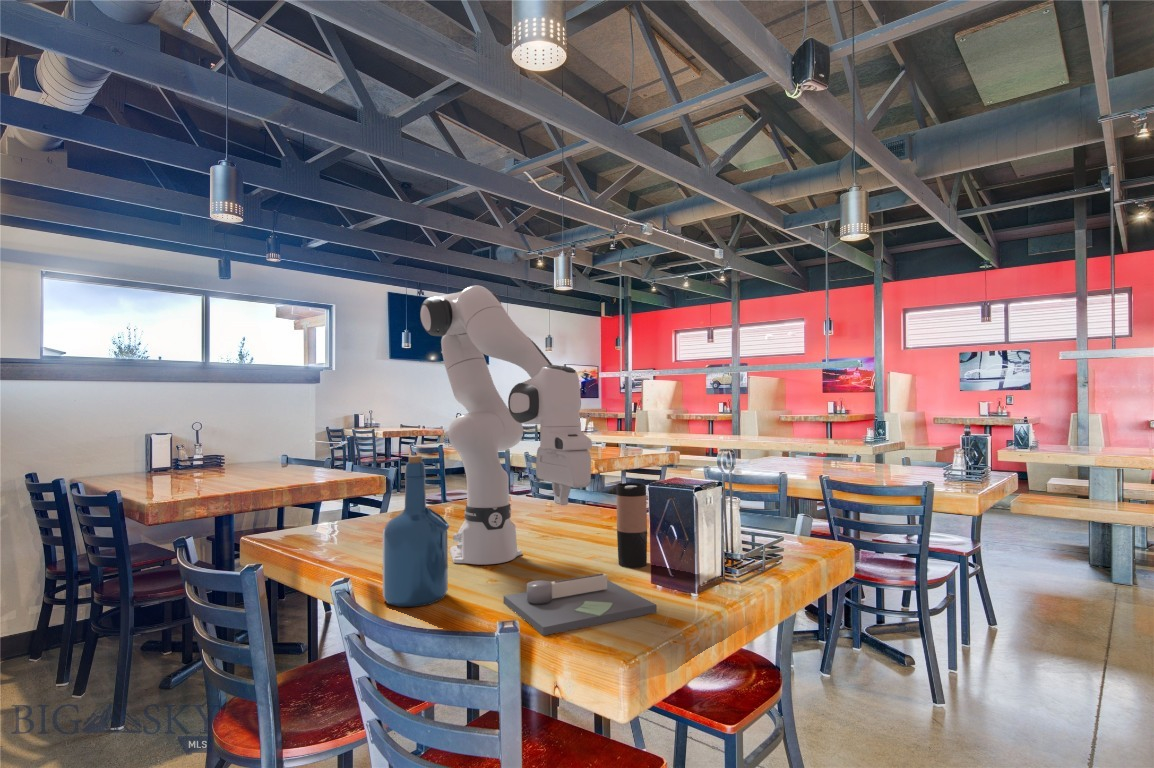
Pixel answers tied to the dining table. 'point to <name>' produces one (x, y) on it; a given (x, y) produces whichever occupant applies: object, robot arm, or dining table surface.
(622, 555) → the travel mug
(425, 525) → the wine bottle
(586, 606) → the dial plate
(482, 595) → the dining table surface
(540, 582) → the dial lever
